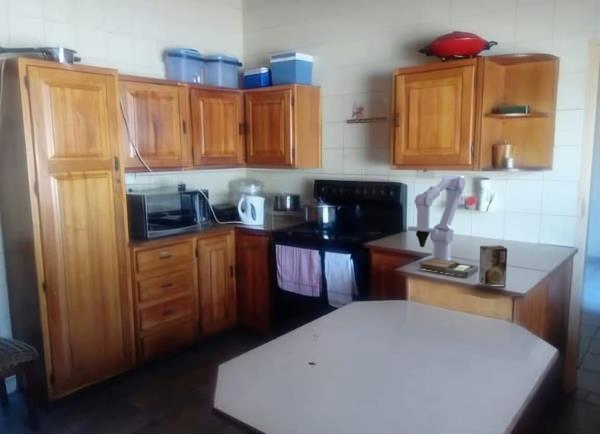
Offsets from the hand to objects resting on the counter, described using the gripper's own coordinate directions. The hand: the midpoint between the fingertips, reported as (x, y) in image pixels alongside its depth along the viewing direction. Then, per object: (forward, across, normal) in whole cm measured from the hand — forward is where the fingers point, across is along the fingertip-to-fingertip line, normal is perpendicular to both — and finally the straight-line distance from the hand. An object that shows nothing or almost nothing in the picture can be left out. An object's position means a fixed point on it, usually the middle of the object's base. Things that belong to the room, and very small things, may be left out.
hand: (422, 246), depth 231 cm
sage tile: (+7, +21, -5) cm, 22 cm away
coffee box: (+10, +37, -13) cm, 40 cm away
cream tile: (+7, +20, 0) cm, 21 cm away
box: (+9, +20, -2) cm, 22 cm away
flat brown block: (+9, +9, -1) cm, 13 cm away
